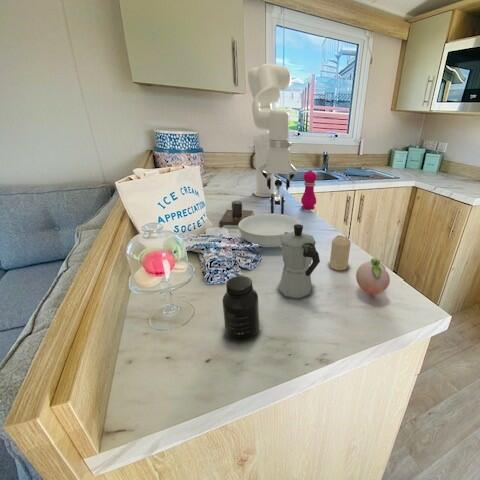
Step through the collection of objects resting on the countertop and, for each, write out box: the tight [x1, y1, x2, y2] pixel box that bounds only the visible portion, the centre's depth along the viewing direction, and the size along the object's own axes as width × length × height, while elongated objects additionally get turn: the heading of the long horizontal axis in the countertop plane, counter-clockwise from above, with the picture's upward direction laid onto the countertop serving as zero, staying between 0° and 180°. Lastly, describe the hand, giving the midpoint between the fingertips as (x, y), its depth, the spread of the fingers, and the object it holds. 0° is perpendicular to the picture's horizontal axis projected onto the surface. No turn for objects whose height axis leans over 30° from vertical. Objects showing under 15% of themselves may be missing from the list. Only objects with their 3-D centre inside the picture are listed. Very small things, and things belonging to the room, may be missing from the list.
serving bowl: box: [237, 212, 301, 248], centre depth 96 cm, size 21×21×7 cm
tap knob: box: [231, 200, 243, 217], centre depth 110 cm, size 4×4×6 cm
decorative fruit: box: [355, 257, 391, 295], centre depth 71 cm, size 9×8×10 cm
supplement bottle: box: [222, 275, 260, 342], centre depth 55 cm, size 7×7×12 cm
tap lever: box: [274, 179, 283, 206], centre depth 112 cm, size 13×3×3 cm, turn 6°
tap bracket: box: [269, 194, 286, 215], centre depth 111 cm, size 12×9×12 cm
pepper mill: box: [300, 167, 318, 211], centre depth 128 cm, size 7×7×20 cm
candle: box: [329, 234, 351, 271], centre depth 83 cm, size 6×6×10 cm
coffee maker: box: [278, 223, 321, 300], centre depth 68 cm, size 15×9×18 cm, turn 36°
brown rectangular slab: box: [219, 209, 254, 228], centre depth 111 cm, size 14×11×3 cm
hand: (278, 188), depth 116 cm, fingers open, 6 cm apart
